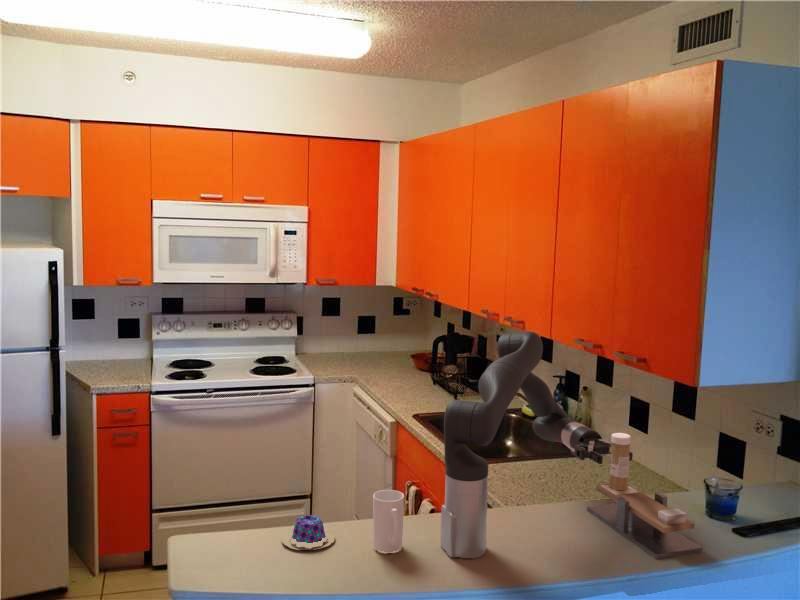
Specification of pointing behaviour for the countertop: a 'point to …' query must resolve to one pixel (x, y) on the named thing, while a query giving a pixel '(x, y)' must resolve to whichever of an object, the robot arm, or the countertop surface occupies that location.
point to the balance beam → (649, 509)
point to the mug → (388, 520)
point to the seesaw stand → (643, 530)
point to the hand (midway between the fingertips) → (616, 458)
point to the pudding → (308, 529)
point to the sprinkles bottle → (619, 461)
